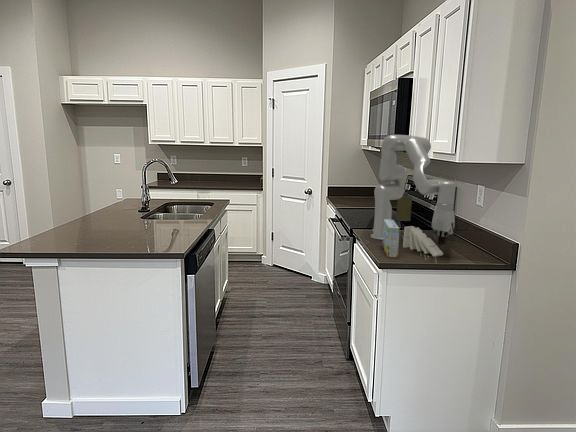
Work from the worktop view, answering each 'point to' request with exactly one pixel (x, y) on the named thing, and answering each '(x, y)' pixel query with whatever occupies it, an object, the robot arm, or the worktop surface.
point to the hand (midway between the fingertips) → (441, 244)
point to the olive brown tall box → (404, 207)
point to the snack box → (390, 238)
